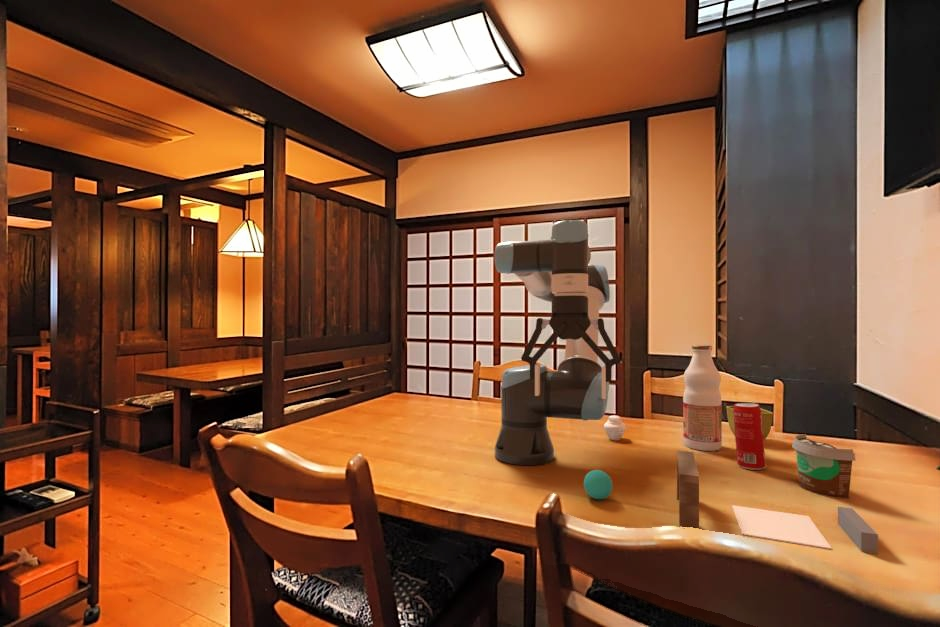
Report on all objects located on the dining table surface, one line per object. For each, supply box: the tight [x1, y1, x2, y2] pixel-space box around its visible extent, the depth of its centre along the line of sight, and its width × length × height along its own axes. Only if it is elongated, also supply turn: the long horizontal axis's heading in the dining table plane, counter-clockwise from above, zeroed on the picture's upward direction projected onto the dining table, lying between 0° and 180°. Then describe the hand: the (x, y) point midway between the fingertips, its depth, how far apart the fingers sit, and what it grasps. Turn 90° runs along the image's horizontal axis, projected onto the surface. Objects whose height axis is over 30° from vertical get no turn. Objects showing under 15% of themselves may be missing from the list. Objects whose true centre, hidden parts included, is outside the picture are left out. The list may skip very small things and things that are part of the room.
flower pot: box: [725, 405, 774, 441], centre depth 130 cm, size 9×9×9 cm
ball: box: [583, 469, 613, 500], centre depth 90 cm, size 6×6×6 cm
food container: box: [791, 433, 856, 499], centre depth 94 cm, size 12×6×10 cm, turn 5°
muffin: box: [603, 414, 626, 441], centre depth 133 cm, size 6×6×7 cm
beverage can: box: [733, 402, 767, 471], centre depth 108 cm, size 6×6×15 cm
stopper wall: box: [837, 506, 879, 555], centre depth 74 cm, size 2×10×3 cm, turn 157°
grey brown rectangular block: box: [676, 449, 700, 529], centre depth 84 cm, size 3×14×9 cm, turn 157°
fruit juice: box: [682, 344, 723, 452], centre depth 125 cm, size 9×9×28 cm
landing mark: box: [731, 504, 833, 550], centre depth 78 cm, size 12×12×1 cm
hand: (569, 396), depth 95 cm, fingers open, 13 cm apart
